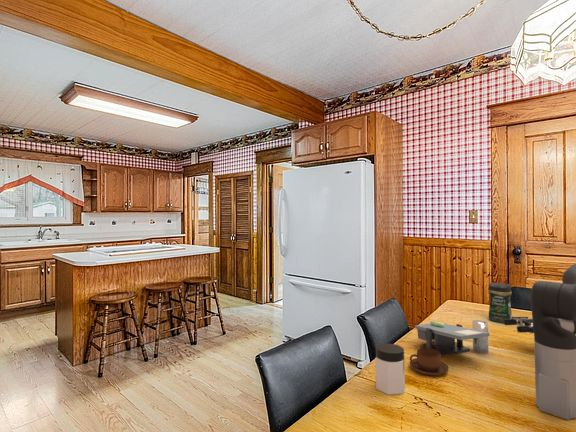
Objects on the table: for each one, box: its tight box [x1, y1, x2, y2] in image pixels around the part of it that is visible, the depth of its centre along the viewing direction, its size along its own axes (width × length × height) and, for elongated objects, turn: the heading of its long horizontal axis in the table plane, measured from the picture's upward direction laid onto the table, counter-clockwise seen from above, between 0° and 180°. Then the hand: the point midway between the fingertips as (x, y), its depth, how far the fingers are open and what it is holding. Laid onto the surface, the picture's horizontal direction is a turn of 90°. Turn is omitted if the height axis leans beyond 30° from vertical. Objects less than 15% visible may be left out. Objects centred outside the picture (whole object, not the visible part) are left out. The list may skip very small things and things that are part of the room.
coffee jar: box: [487, 282, 513, 324], centre depth 166 cm, size 10×8×19 cm
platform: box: [414, 320, 490, 342], centre depth 128 cm, size 25×12×7 cm, turn 16°
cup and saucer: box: [409, 348, 449, 376], centre depth 114 cm, size 12×12×6 cm
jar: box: [374, 342, 406, 396], centre depth 102 cm, size 9×8×12 cm
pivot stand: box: [419, 323, 471, 357], centre depth 131 cm, size 8×16×9 cm, turn 106°
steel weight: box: [471, 319, 490, 355], centre depth 129 cm, size 5×5×11 cm
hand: (510, 325), depth 129 cm, fingers open, 8 cm apart
